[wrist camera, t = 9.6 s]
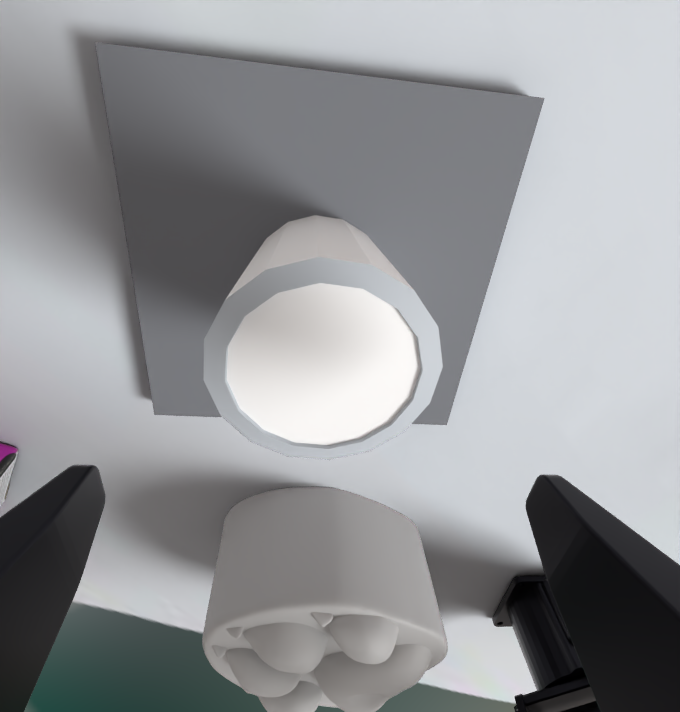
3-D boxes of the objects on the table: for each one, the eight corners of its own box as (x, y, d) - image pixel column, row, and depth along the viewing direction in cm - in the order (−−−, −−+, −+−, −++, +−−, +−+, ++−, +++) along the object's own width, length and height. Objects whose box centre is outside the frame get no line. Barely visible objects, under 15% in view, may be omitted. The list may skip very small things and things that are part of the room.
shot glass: (202, 288, 18) (151, 385, 12) (312, 157, 15) (315, 197, 10) (323, 377, 21) (330, 492, 15) (432, 277, 18) (492, 366, 12)
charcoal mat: (441, 413, 24) (446, 424, 23) (160, 402, 22) (154, 414, 21) (531, 97, 16) (544, 98, 15) (107, 44, 14) (94, 42, 13)
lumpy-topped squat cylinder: (353, 601, 33) (367, 746, 26) (195, 555, 29) (157, 713, 21) (438, 525, 29) (484, 673, 22) (268, 458, 25) (251, 613, 17)
